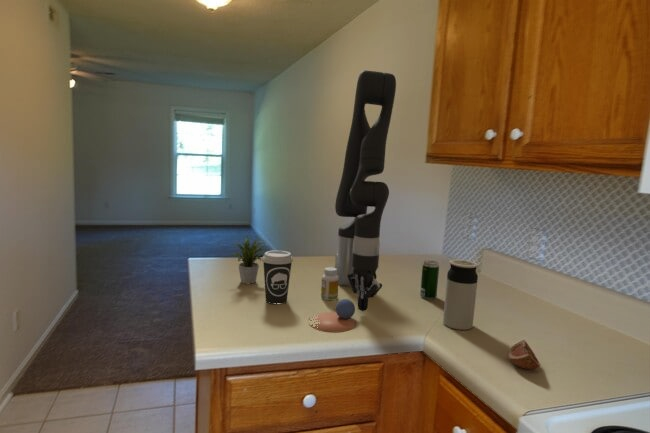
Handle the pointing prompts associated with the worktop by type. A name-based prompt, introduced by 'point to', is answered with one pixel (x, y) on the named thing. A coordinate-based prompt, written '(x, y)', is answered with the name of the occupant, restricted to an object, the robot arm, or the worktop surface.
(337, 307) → the ball
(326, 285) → the supplement bottle
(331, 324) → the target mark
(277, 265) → the coffee cup
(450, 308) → the travel mug
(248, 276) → the house plant
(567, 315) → the worktop surface
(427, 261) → the beer can
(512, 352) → the fruit slice
